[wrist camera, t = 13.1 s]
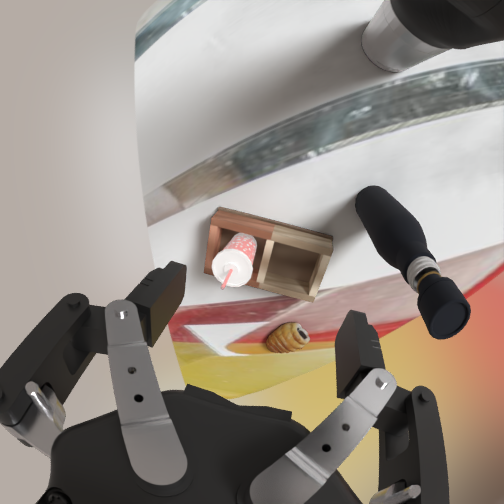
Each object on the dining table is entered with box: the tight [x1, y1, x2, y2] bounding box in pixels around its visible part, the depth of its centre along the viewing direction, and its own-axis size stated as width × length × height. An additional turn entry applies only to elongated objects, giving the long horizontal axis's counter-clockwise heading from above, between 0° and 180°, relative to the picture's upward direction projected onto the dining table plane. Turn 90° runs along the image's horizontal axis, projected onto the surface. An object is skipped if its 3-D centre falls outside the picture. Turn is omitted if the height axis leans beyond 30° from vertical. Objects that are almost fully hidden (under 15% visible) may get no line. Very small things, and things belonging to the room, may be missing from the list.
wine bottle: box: [355, 186, 471, 339], centre depth 29 cm, size 6×6×30 cm
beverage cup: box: [212, 233, 257, 290], centre depth 43 cm, size 6×6×14 cm
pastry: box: [266, 322, 310, 353], centre depth 56 cm, size 9×7×4 cm
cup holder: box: [204, 207, 333, 302], centre depth 47 cm, size 11×20×5 cm, turn 78°
